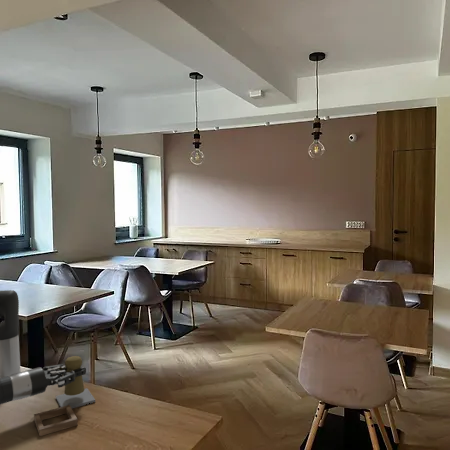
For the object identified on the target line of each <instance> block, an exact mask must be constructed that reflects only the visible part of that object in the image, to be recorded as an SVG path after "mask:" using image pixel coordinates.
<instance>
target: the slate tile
mask: <svg viewBox="0 0 450 450" xmlns="http://www.w3.org/2000/svg"><path fill="white" fill-rule="evenodd" d="M55 399H56V401H57V402H56V403H58V405H59V408H60V407H64V406H67V405H70V407H71V408H72V409H77V408H79V407H82V406H86V404H87V405H90V404H94V403H96V399H95V397H94V395H92V393H91V391H90V390H89V388H88V387H86V388H84V392H82V393H80V394H78V395H66V394H65V393H62V394H58V395H55ZM93 402H94V403H93ZM89 403H90V404H89Z"/></svg>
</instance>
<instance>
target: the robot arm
mask: <svg viewBox="0 0 450 450" xmlns="http://www.w3.org/2000/svg"><path fill="white" fill-rule="evenodd" d="M19 303H20V300H19V295H18V293H17V292H16V291H15V290H12V289H10V290H9V289H7V290H0V319H1V318H4V320H3V323H1V324H0V405H3V404H6V403H10V402H13V401H14V402H15V401H19V400H23V399H27V398H30V397H34V396H37V395H40V394H43V393H45V392H46V390H47V387H48V386H56V385H57V388H63V387H65V385H67V384H69V383H71V382H74V381H75V377H78V376H81V375H82V376H85V375H86V374H87V369H86V368H87V367H85V366H84V367H81V368H79V369H75V370H71V371H67V368H66V367H65V365H64V364H62V363H60V364H55V365H49V366H44V367H43V368H42V367H40V366H38V367H35V368H31V369H28V370H24V371H21V355H20V341H19V326H20V325H19V324H20V323H19V322H20V321H19V317H20V316H19V308H20V307H19V305H20V304H19Z"/></svg>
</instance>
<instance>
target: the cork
mask: <svg viewBox="0 0 450 450" xmlns="http://www.w3.org/2000/svg"><path fill="white" fill-rule="evenodd" d="M82 365H83V359H82V357H81V356H78V355H73V356H69V357H67V358H65V360H64V366H65V367H66V368H67V371H71V370H75V369H79V368H82V367H81V366H82ZM84 389H85V386H84V380H83V375H81V376H78V377H75V381H74V382H71V383H69V384H67V385H65V386H64V391H63V392H64V393H63V394H66V395H78V394H80V393H82V392H84Z"/></svg>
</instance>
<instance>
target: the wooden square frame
mask: <svg viewBox="0 0 450 450" xmlns="http://www.w3.org/2000/svg"><path fill="white" fill-rule="evenodd" d="M62 415H67V418H68V419H65V420H61V421H58V422H54V423H51V424H47V425H45V426H44V424H43V422H42V421H44V420H48V419H51V418H55V417H59V416H62ZM33 420H34V424H35V426H36V428H37V432H38V435H39V437H42V436H45V435H48V434H51V433H52V434H53V433H55V432H59V431H63V430H65V429H69V428H73V427H76V426H79V425H78V421H79V420H78V417H77V416H76V414H75V412H74V410H73V408H71V407H70V405H67V406H64V407H60V406H59V407H57V408H53V409H52V408H51V409H49V410H45V411H40V412H37V413H35V414H33Z"/></svg>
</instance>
